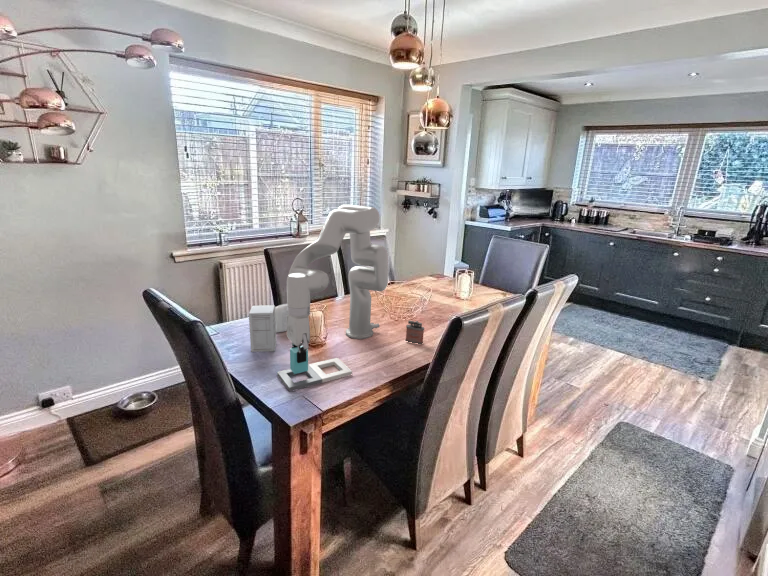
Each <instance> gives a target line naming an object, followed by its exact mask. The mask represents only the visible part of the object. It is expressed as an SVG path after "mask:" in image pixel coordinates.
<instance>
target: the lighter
mask: <svg viewBox="0 0 768 576" xmlns="http://www.w3.org/2000/svg"><path fill="white" fill-rule="evenodd" d="M407 323H408V324H406V326H405V327H406V332H405V340H404V341H408V342H412V343H418V344H422V343H423V344H424V332H425V327H424V326H423V323H422V322H419V321H418V320H415V321H414V320H411V319H410V320H408V322H407Z"/></svg>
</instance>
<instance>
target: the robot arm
mask: <svg viewBox="0 0 768 576" xmlns="http://www.w3.org/2000/svg"><path fill="white" fill-rule="evenodd" d="M380 217H381V216H380V213H379V211H378V209H377V208H376V207H374V206H365V205H355V204H342V205H340V206H339V207H338V208H335V209H333V210H331V211H330V212H329V214H328V215H327V217H326V219H325V222H324V224H323V226H322V228H321V231H319V232H320V233H319V234H318V237H317V238H316V240H315V241H314V242H312V243H310V244H309V245H308V246H306V247H305V248H303V249H302V250H301V251H300V252H298V254H297V255H296V256H295V258H294V260H293V261H292V264H291V266H290V268H289V271H288V274H287V277H286V304H287V315H288V317H287V331H286V337H287V338H288V340H289V341H290V342H291V348H295V347H298V352H297V363H301V362H306V352H307V349H308V350H309V343H310V340H311V332H310V331H311V330H310V328H311V327H310V318H309V317H310V315H311V294H315V293H320V292H322V291H324V290H326V289H327V288H328V286H329V283H330V277H329V275H328V274H327V272H325V271H323V270H321V269H320V270H319V269H315V268H311V267H310V268H309V267H308V266H309V265H310V264H312V263H313V262H314V261H316V260H319V259H321V258H325V257H328V256H331V255H335V254H336V253H338V251H339V249H340V247H341V244H342V242H343V240H344V238H345V236H346V234H349V243H350V257H351V258H350V260H351V261H352V263H354V264H355V265H356V266H353V267H352V268H350V270H349V271H348V274H347V275H348V279H347V280H348V286H349V319H348V320H349V325H348V326H349V327H348V328H346V330H345V335H346V336H347V337H348V338H350V339H356V340H364V339H369V338H372V336H373V335H374V329H378V328H380V324H379V323H374V322H371V316H372V314H371V313H372V295H371V292H370V291H374V292H383V291H385V290H386V288H387V287H388V281H389V254H388V251H387V249H386V247H385V246H384V245H381V244H376V243H375V244H374V243H372V241H371V231H372V230H374V229H375V228H376V227H377V226H378V225H379V222H380ZM300 346H303V347H301V348H300Z"/></svg>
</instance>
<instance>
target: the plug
mask: <svg viewBox="0 0 768 576" xmlns="http://www.w3.org/2000/svg"><path fill="white" fill-rule="evenodd" d="M301 347H303V345H301V346H300V348H301ZM297 352H298V347H295V348H292V347H291V348H289V365H290V366H289V369H291V371H292V372H293V373H294V374H296V375H298V374H297V373H300V374H302V373H301V372H304V373H305V371H308V364H309V348H308V349H307V352H306V362H301V363H297Z"/></svg>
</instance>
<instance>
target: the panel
mask: <svg viewBox="0 0 768 576" xmlns="http://www.w3.org/2000/svg"><path fill="white" fill-rule="evenodd" d="M331 366H334V367H336V368H337V369H338V371H334V372H330V373H327V374H326V372H324V370H322V369H323V368H327V367H331ZM302 373H305V374H306V376H308V378H307V379H303V380H300V381H296V382H294V381H293V380H292V378H291V377H290V376H295V375H300V374H302ZM351 374H352V375H353V370H352V369H350V368H349V366H347V365H346V364H345V363H344V362H343V361H342V360H341V359H340V358H338V357H335V358H334V357H333V358H329V359H326V360H321V361H317V362H312V363H308V371H305V372H301V373H297V374H294V373H293V372H292V371H291V369H290V368H287V369H284V370H279V371H277V372H276V376H277V377H278V379H279V380H280V381H281V382H282V384H283V385H284V387H285V386H286V387H285V388H286V389H287V390H288V391H290V392H293V390H294V391H296V390H300V389H304V388H307V387H312V386H315V385H319V384H323V383H327V382H331V381H335V380H337V379H341V377H342V378H345V377H349V376H352V375H351ZM348 375H349V376H348ZM330 380H331V381H330Z"/></svg>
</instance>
